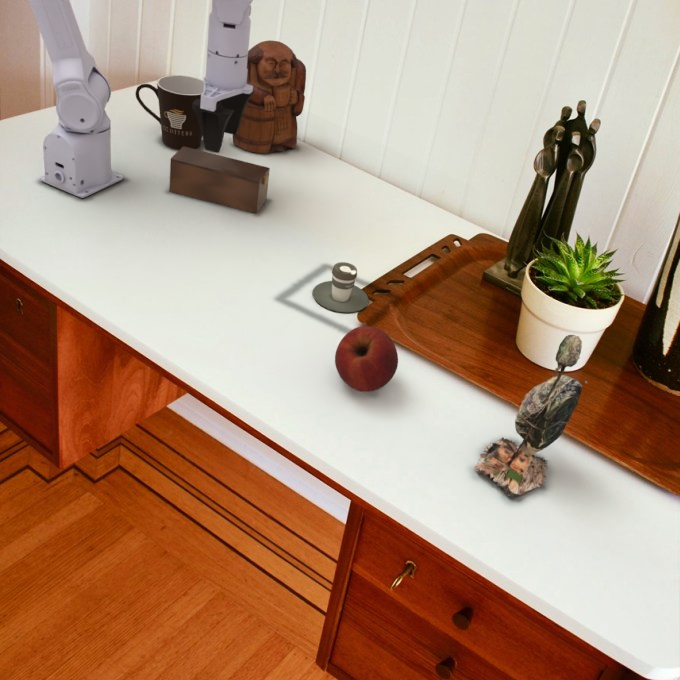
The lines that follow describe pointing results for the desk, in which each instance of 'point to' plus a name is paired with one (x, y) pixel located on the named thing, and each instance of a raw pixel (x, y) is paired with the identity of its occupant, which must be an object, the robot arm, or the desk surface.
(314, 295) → the coffee cup
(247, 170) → the pencil box
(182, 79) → the coffee mug
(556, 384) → the plant with pod
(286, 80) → the wooden figurine
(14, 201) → the desk surface
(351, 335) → the apple
